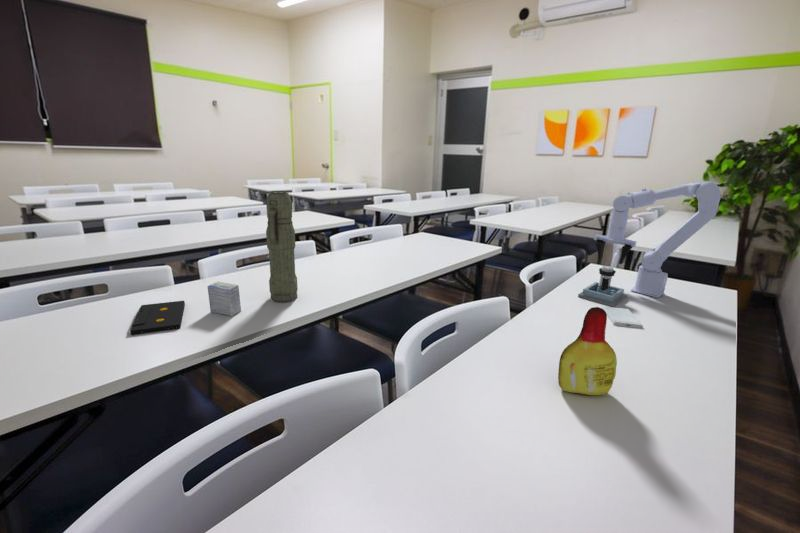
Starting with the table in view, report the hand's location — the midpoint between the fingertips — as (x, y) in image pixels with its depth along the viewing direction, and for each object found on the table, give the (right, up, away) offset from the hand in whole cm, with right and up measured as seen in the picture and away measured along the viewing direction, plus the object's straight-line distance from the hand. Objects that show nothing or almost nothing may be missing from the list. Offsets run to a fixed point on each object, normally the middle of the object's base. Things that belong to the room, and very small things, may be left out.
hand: (610, 261), depth 156 cm
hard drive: (-12, -19, -28) cm, 36 cm away
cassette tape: (-152, -18, -41) cm, 158 cm away
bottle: (-42, -30, -67) cm, 85 cm away
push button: (-8, -12, -11) cm, 18 cm away
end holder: (-9, -13, -11) cm, 19 cm away
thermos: (-121, -13, -22) cm, 124 cm away
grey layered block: (-135, -16, -35) cm, 141 cm away
